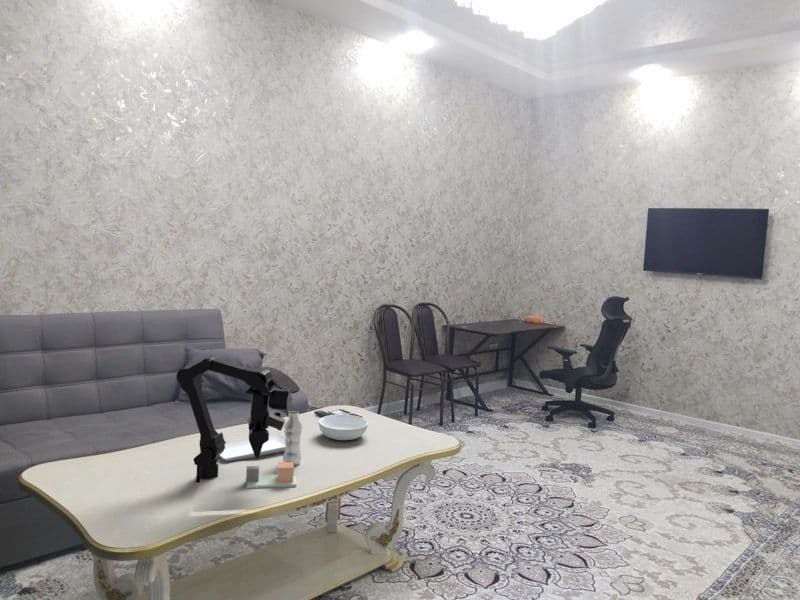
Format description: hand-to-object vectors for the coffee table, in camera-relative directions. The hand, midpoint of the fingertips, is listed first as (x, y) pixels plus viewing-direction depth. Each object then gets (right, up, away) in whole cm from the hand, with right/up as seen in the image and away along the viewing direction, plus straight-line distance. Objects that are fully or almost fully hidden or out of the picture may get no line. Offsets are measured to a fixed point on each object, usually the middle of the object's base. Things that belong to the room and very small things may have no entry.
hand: (256, 452), depth 204 cm
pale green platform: (+5, -10, +1) cm, 11 cm away
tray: (-9, -8, +32) cm, 34 cm away
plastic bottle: (+8, -10, +20) cm, 23 cm away
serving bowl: (+23, -8, +56) cm, 61 cm away
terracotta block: (+9, -9, +2) cm, 13 cm away
